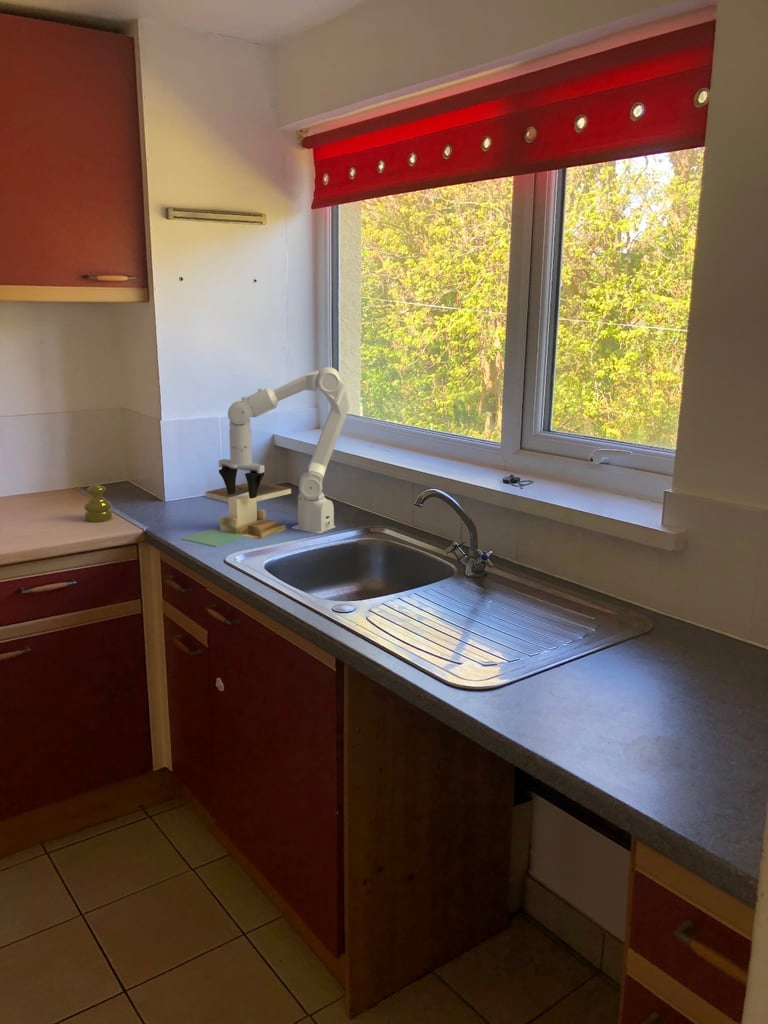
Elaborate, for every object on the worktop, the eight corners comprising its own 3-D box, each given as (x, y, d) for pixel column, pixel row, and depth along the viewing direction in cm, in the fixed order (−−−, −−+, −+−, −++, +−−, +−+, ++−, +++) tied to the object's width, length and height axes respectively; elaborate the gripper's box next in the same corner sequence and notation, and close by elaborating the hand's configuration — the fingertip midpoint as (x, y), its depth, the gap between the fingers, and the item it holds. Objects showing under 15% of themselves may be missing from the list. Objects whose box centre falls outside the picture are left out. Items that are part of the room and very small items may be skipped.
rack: (288, 530, 229) (288, 514, 228) (259, 540, 219) (259, 524, 218) (249, 522, 236) (248, 507, 235) (220, 532, 226) (219, 516, 225)
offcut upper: (277, 525, 227) (277, 521, 227) (259, 532, 221) (259, 527, 221) (265, 523, 229) (265, 519, 229) (247, 529, 223) (247, 525, 223)
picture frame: (239, 507, 255) (291, 495, 271) (238, 499, 254) (291, 487, 270) (205, 498, 265) (257, 487, 281) (205, 491, 265) (257, 480, 280)
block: (257, 525, 232) (256, 493, 230) (237, 531, 225) (236, 499, 223) (249, 523, 234) (248, 492, 231) (229, 530, 227) (228, 497, 225)
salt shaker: (116, 516, 241) (114, 482, 239) (105, 523, 234) (103, 488, 232) (92, 515, 242) (89, 481, 240) (80, 522, 235) (77, 487, 232)
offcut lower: (280, 529, 228) (280, 525, 228) (261, 536, 221) (260, 532, 221) (267, 527, 230) (266, 522, 230) (247, 533, 224) (247, 529, 223)
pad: (244, 537, 221) (244, 535, 221) (216, 548, 212) (215, 546, 212) (211, 530, 227) (211, 528, 227) (181, 540, 218) (181, 538, 218)
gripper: (210, 445, 224) (212, 495, 228) (251, 451, 217) (253, 502, 220) (228, 442, 230) (229, 490, 233) (269, 447, 222) (270, 497, 226)
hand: (242, 495), depth 227 cm, fingers open, 7 cm apart
